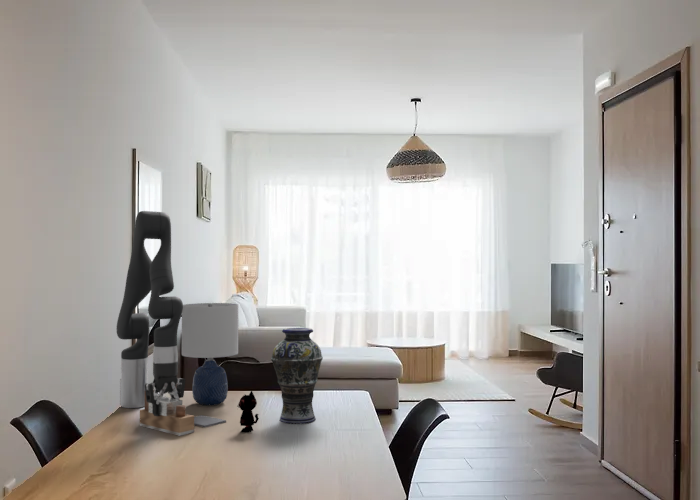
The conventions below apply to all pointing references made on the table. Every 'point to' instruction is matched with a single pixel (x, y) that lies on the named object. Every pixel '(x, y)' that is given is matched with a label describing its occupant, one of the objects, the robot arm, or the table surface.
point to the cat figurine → (247, 412)
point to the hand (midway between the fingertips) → (165, 413)
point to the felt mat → (207, 421)
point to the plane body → (168, 421)
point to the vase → (297, 374)
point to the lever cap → (167, 406)
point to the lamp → (210, 346)
